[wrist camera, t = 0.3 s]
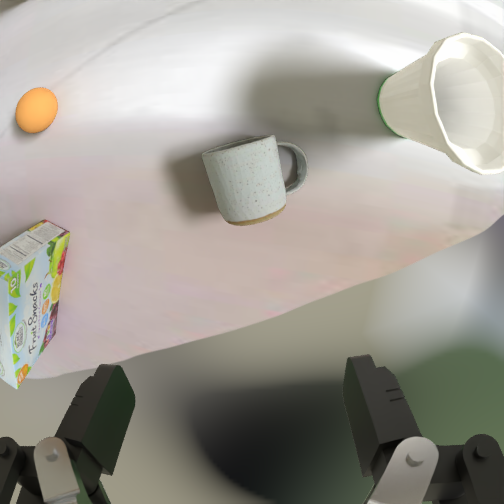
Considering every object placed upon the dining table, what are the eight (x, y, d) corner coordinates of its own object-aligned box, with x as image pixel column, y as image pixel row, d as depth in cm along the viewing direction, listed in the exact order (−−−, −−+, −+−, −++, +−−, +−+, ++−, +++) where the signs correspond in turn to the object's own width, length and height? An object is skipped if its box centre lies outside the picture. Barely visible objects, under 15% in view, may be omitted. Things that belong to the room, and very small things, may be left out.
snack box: (58, 335, 45) (18, 392, 31) (34, 320, 44) (-9, 373, 30) (73, 231, 37) (7, 281, 23) (44, 216, 36) (-25, 258, 22)
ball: (34, 93, 29) (7, 92, 24) (67, 84, 29) (40, 81, 24) (34, 134, 31) (6, 138, 26) (65, 128, 32) (38, 130, 26)
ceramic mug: (226, 215, 36) (221, 237, 29) (206, 150, 33) (195, 155, 26) (312, 193, 35) (328, 209, 28) (295, 126, 32) (309, 124, 25)
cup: (382, 41, 27) (450, 4, 13) (456, 94, 29) (537, 94, 15) (345, 122, 32) (407, 121, 18) (424, 171, 34) (502, 201, 20)
